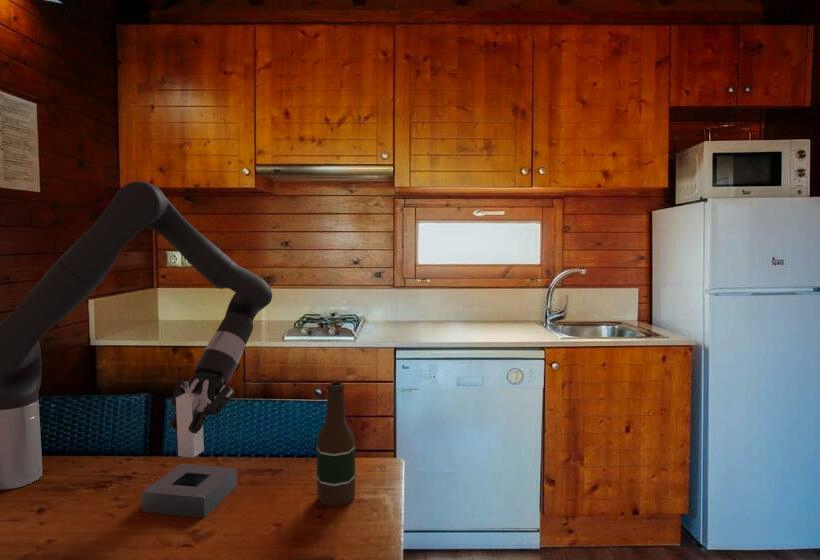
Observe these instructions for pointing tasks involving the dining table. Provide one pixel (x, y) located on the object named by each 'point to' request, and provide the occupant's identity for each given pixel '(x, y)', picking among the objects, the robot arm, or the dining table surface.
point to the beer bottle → (335, 452)
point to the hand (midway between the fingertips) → (183, 430)
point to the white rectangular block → (185, 413)
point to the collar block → (189, 490)
